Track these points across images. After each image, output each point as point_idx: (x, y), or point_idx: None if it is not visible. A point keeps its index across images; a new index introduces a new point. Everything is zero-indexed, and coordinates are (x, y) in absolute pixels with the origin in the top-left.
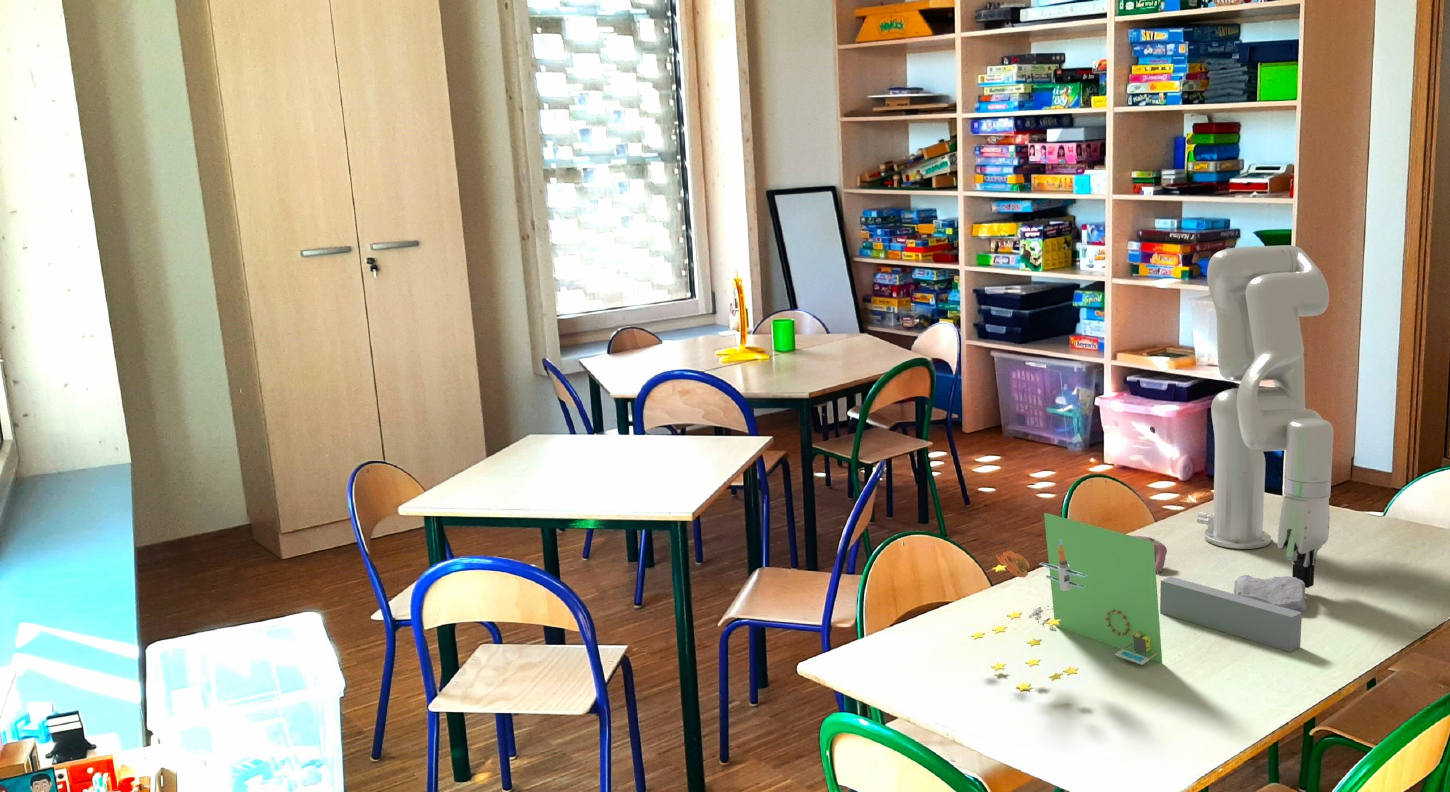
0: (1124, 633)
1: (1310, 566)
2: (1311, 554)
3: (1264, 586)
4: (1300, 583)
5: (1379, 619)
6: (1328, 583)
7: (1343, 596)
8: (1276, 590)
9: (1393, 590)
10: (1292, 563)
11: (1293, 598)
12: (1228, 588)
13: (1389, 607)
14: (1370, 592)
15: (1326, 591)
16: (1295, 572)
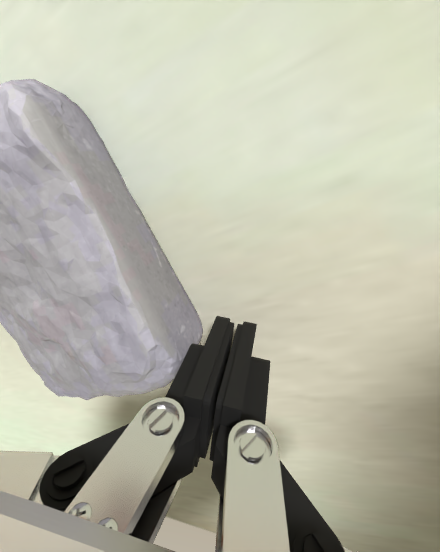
0: None
1: (195, 462)
2: (218, 545)
3: (3, 275)
4: (101, 393)
5: None
6: (415, 376)
7: (288, 421)
8: (20, 320)
9: (427, 512)
10: (149, 404)
11: (36, 368)
12: (72, 30)
13: None
14: (373, 471)
15: (308, 381)
16: (176, 374)
